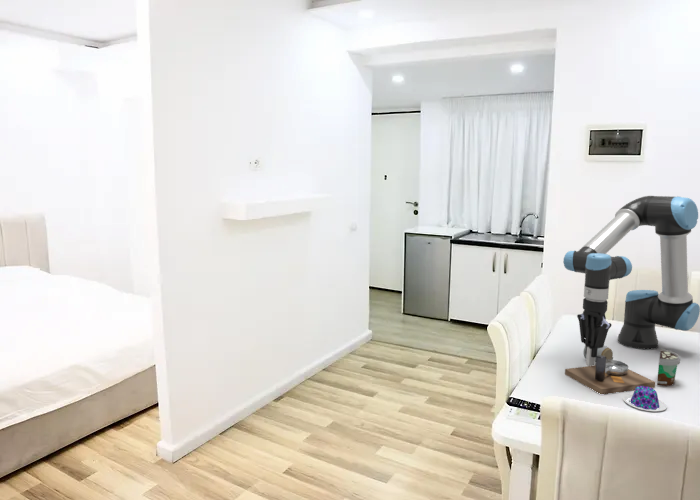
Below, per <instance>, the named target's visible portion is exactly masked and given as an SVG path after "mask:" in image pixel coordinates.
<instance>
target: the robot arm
mask: <svg viewBox="0 0 700 500" xmlns="http://www.w3.org/2000/svg"><path fill="white" fill-rule="evenodd" d="M698 219H699V209H698V206H697V204H696V202H695V201H694V200H693V199H692V198H690V197H682V196H678V195H677V196H669V195H668V196H666V195H665V196H662V195H661V196H660V195H645V196H641V197H638V198H636V199H634V200H631V201H629V202H628V203H626V204H625V205H623V206H622V207H620V208H619V209H618V210H617V211H616V212H615V214H614V217H613V219H611V220H610V221H609V222H608V223H607V224H606V225H605V226H604V227H602V228H601V230H599V231H598V232H597V233H596V234H595V235H594V236H593V237H592V238H591V239H590V240H589V241H587V242H586V243H585V244H584V245H583V246H582V247H581V248H579V249H578V251H576V250H570V251H569V250H568V251H567V252H566V253H565V255H564V257H563V266H564V268H565V269H566V270H568V271H571V272H575V273H580V274H585V275H584V289H583V299H582V309H583V311H582V313H581V314H577V315H576V317H577V320H578V323H579V324H578V326H579V332H580V341H581V343H583V344H584V346H585V345H586V351H585V353H586V358H585V366H594V365H596V362H595V357H597V349H598V348H602V347H603V346H605V342H606V339H607V335H608V332H609V329H610V328H611V327H612V323H611V322H608V321H607V318H606V313H607V311H608V305H609V304H608V303H609V301H608V299H609V289H610V281H611V280H616V279H622V278H625V277H627V276H629V275H631V273H632V271H633V264H632V261H631V260H630V259H629V257H626V256H623V255H616V256H611V255H610V254H607V253H609V251H610V250H612V249H613V248H614V247H615V246H616V245H617V244H618V243H619V242H620V241H621V240H622V239H623V238H624V237H626V235H628V233H630V232H631V231H634V230H637V229H638V228H639V227H641V226H642V227H643V226H651V227H654V230H655V235H658V236H659V241H660V266H661V267H660V268H661V269H660V270H661V271H660V272H661V291H662V292H660V293H659V292H658V291H656V290H654V289H653V290H651V289H634V290H629V291H628V292H627V293H626V296H625V301H624V314H623V315H624V317H623V324H622V327H621V329H620V331H619V334H618V336H617V342H618V343H619V344H620V345H622V346H625V347H629V348H633V349H639V350H655V349H657V348H658V347H659V339H658V335H657V332H656V325H657V326H662V327H666V328H670V329H674V330H676V331H677V330H678V331H679V330H680V331H684V332H686V331H689V330H691V329H693V327H694V326H695V325H696V323H697V321H698V319H699V316H700V305H699V304H698V303H697V302H694V301H693V300H694V299H693V295H692V294H691V293H689V289H688V284H689V283H688V278H689V277H688V247H687V246H688V243H687V242H688V241H687V238H688V237H687V236H688V235H690V233H691V232H692V229H695V227H696V226H697V224H698Z"/></svg>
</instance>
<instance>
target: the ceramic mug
mask: <svg viewBox="0 0 700 500" xmlns="http://www.w3.org/2000/svg"><path fill="white" fill-rule="evenodd" d="M585 351H586V345H585V344H584V348H583V351H582V353H583V357H584V359H586V353H585ZM597 355H602V356H605V357H606V359H611V360H614V357H613V351H612V348H611V347H609V346H607V345H604V346H603V347H602V348H598V349H597ZM595 363H596V357H595Z"/></svg>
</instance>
